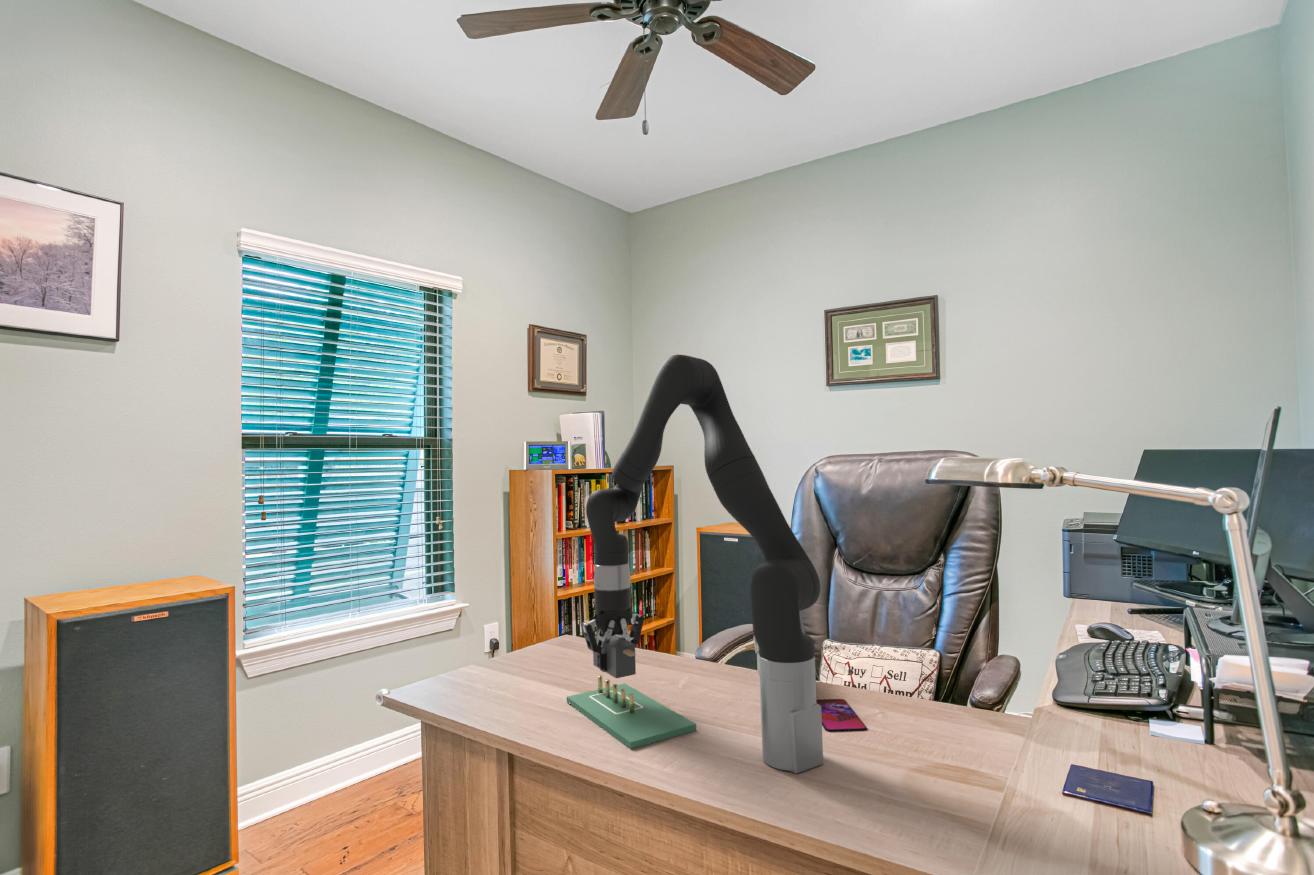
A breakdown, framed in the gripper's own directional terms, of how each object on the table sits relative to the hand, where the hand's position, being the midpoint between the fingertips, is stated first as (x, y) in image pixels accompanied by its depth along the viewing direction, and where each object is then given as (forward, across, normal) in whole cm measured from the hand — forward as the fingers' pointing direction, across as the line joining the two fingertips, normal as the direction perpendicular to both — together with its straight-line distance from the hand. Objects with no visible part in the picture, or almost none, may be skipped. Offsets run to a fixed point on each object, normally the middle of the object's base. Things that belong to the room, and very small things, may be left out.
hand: (614, 668), depth 137 cm
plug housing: (0, 0, -1) cm, 1 cm away
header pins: (+7, 0, 0) cm, 7 cm away
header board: (+8, 0, -5) cm, 10 cm away
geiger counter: (+8, +35, -6) cm, 36 cm away
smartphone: (+8, +33, -29) cm, 45 cm away
